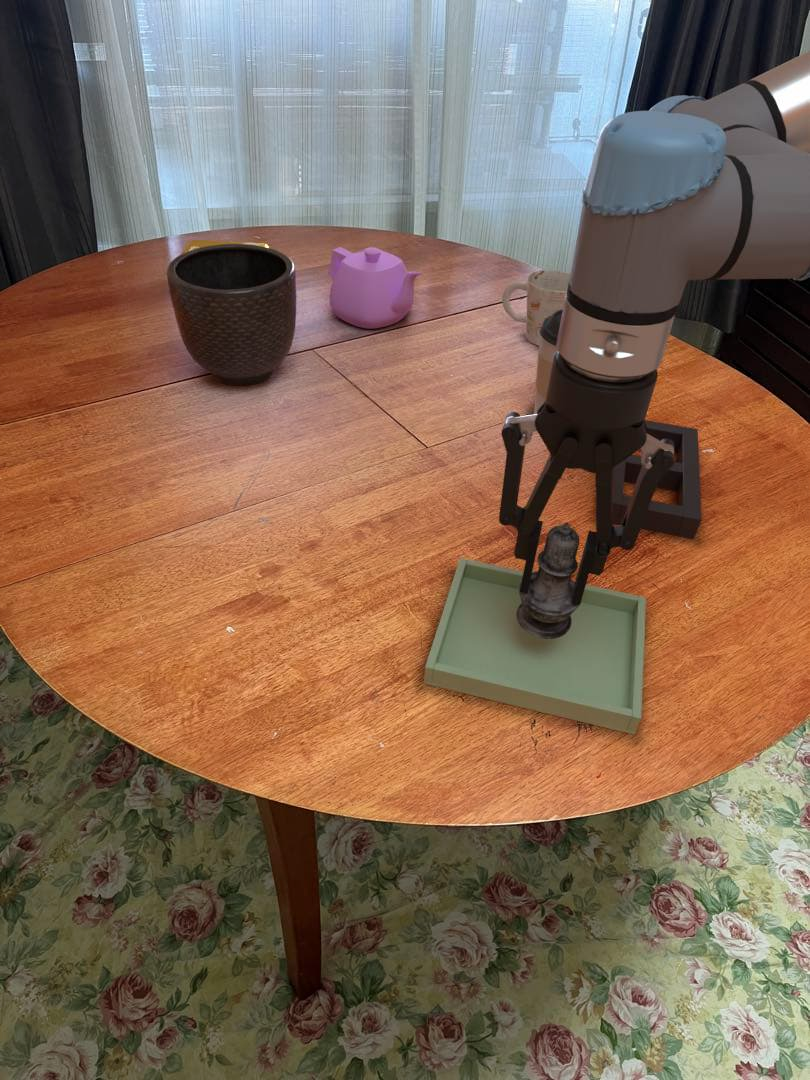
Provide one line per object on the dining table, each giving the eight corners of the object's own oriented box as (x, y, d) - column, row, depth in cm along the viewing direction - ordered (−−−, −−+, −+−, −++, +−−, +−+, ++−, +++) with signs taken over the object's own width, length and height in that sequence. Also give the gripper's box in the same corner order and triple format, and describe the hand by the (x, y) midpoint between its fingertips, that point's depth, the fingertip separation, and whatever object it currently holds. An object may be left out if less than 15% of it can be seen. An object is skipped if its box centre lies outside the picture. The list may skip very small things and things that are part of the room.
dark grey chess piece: (548, 651, 70) (573, 555, 62) (500, 615, 73) (518, 519, 65) (587, 620, 73) (615, 525, 65) (539, 587, 76) (561, 492, 68)
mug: (558, 355, 122) (570, 295, 116) (487, 335, 126) (495, 276, 120) (576, 335, 128) (588, 277, 121) (507, 317, 132) (515, 260, 125)
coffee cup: (573, 396, 113) (594, 299, 103) (600, 429, 106) (625, 329, 96) (516, 402, 111) (532, 304, 101) (540, 437, 104) (559, 335, 94)
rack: (691, 447, 104) (697, 428, 102) (693, 539, 89) (701, 519, 87) (610, 432, 106) (614, 414, 104) (599, 520, 91) (604, 501, 89)
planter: (289, 405, 107) (282, 296, 97) (169, 396, 108) (148, 287, 97) (309, 348, 120) (304, 247, 110) (201, 340, 121) (186, 239, 110)
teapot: (391, 348, 122) (393, 280, 114) (305, 308, 131) (302, 244, 124) (443, 322, 129) (449, 258, 122) (359, 287, 139) (359, 225, 132)
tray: (640, 613, 80) (646, 596, 78) (634, 735, 68) (641, 718, 67) (458, 574, 83) (460, 557, 81) (423, 683, 72) (424, 666, 70)
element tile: (192, 261, 144) (188, 236, 141) (271, 265, 145) (269, 239, 142) (174, 294, 133) (169, 267, 130) (259, 298, 133) (257, 271, 130)
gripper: (480, 362, 53) (452, 596, 69) (733, 405, 51) (644, 638, 66) (498, 318, 59) (468, 543, 74) (727, 354, 56) (646, 581, 72)
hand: (551, 588), depth 70 cm, fingers closed on dark grey chess piece, 4 cm apart
